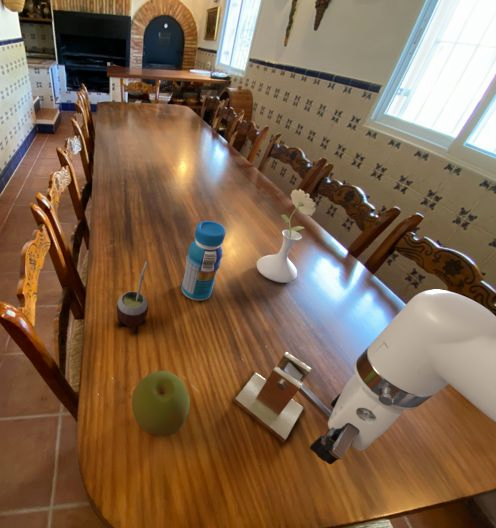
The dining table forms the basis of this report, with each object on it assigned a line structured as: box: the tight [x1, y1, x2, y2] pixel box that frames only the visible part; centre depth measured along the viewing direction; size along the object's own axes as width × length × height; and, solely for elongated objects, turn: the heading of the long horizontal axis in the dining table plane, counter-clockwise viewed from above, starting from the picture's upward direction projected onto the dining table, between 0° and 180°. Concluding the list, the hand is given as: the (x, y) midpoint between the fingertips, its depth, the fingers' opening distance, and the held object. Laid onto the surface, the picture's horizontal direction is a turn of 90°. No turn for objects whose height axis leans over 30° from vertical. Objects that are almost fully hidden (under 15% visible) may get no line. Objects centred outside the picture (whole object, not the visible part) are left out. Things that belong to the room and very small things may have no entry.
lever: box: [280, 362, 344, 442], centre depth 48 cm, size 12×5×2 cm, turn 46°
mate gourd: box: [116, 260, 149, 335], centre depth 66 cm, size 8×8×15 cm
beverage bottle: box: [180, 220, 226, 301], centre depth 74 cm, size 8×8×20 cm
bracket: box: [233, 351, 312, 443], centre depth 52 cm, size 10×8×13 cm
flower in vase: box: [256, 188, 317, 284], centre depth 81 cm, size 13×11×25 cm
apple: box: [131, 370, 191, 437], centre depth 50 cm, size 10×10×11 cm
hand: (330, 431), depth 48 cm, fingers open, 9 cm apart
